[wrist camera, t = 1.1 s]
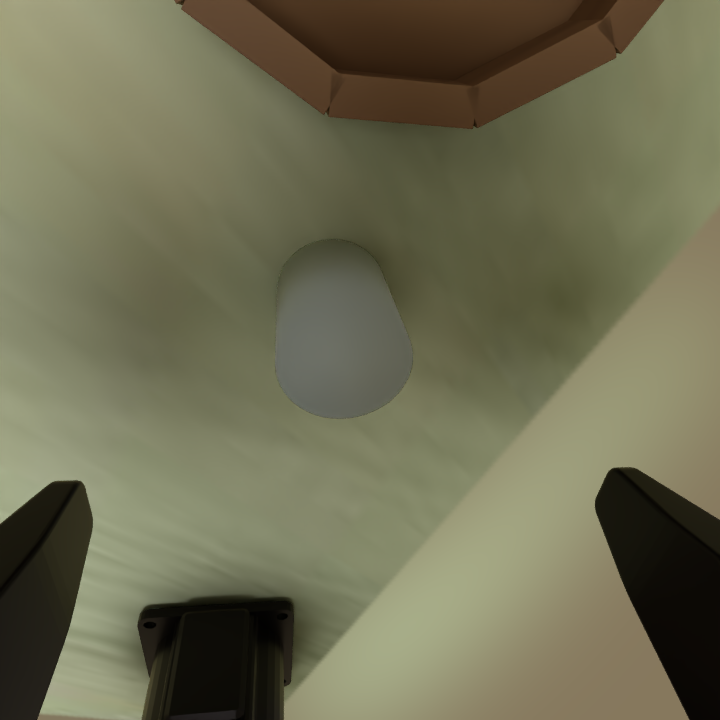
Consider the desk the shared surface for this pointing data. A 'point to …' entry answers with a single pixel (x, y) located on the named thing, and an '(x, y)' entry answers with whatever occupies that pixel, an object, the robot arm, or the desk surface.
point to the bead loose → (338, 332)
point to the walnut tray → (424, 51)
